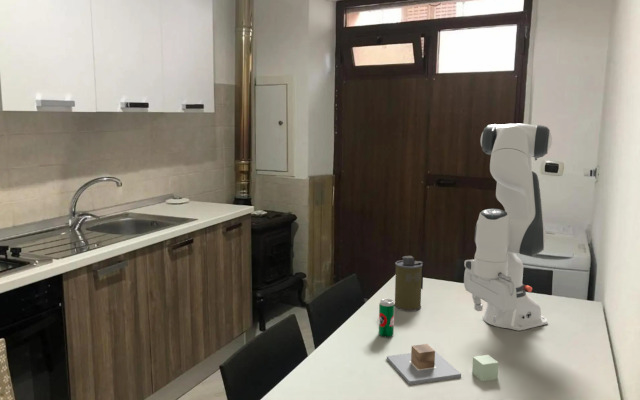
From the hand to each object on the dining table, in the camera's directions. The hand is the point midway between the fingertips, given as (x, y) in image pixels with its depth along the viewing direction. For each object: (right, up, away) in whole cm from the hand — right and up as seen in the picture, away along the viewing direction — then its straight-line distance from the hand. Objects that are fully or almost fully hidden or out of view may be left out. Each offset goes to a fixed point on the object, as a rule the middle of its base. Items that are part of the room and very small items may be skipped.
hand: (487, 316), depth 145 cm
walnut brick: (-17, -16, +7) cm, 24 cm away
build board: (-17, -17, +7) cm, 25 cm away
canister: (-12, -9, +58) cm, 60 cm away
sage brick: (0, -18, +3) cm, 18 cm away
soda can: (-25, -13, +31) cm, 42 cm away
